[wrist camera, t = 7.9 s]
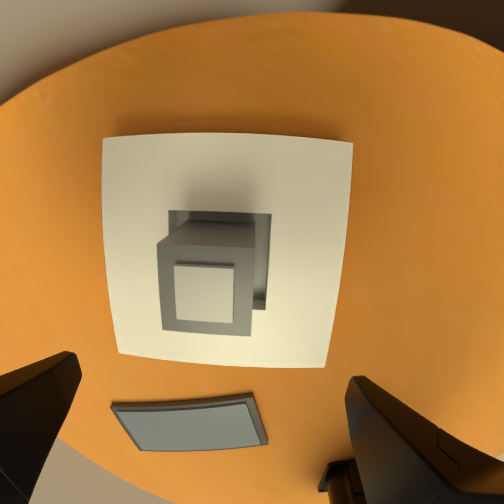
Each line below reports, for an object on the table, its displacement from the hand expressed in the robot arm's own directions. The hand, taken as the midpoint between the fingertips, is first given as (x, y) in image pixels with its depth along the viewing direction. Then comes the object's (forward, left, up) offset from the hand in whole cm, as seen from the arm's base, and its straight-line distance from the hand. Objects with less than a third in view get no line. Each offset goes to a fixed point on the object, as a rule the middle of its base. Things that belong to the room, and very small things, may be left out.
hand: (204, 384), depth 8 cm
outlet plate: (+1, +1, -11) cm, 11 cm away
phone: (-15, +4, -11) cm, 19 cm away
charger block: (+1, +1, -10) cm, 10 cm away
